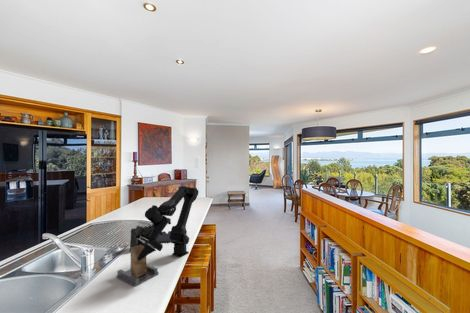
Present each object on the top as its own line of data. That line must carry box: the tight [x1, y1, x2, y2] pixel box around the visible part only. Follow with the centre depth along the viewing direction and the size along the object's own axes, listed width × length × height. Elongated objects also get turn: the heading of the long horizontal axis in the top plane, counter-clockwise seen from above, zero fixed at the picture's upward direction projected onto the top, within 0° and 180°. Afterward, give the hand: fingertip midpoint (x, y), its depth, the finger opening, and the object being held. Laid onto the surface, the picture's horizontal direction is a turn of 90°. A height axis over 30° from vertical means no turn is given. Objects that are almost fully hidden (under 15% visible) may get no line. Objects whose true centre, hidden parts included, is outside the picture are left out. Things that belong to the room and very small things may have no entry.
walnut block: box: [129, 245, 148, 277], centre depth 106 cm, size 5×5×12 cm
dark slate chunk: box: [146, 230, 172, 244], centre depth 153 cm, size 15×22×5 cm
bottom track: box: [116, 264, 159, 287], centre depth 107 cm, size 12×14×3 cm
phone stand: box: [129, 227, 136, 253], centre depth 139 cm, size 9×6×12 cm, turn 6°
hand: (135, 258), depth 105 cm, fingers open, 5 cm apart
